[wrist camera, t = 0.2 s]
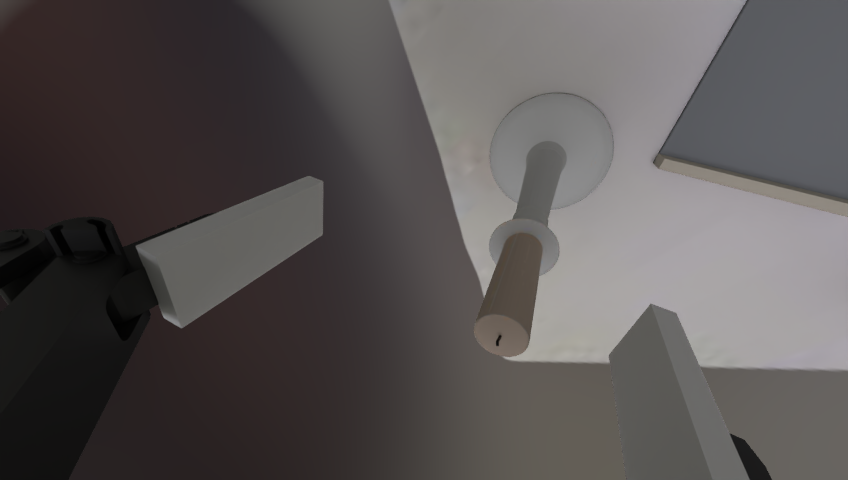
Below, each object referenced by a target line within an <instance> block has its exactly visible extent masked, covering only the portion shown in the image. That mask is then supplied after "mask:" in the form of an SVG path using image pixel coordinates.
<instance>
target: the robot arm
mask: <svg viewBox="0 0 848 480" xmlns="http://www.w3.org/2000/svg"><path fill="white" fill-rule="evenodd" d="M43 232H44V233H43ZM43 232H42V231H39V230H35V229H13V230H5V231H2V232H0V294H1V296H2V297H3V298H4V300H5V301H6V302H7V304H8V306H7V307H6V308H5V309H4V310H2V311H0V480H69V477H70V476H71V474H72V472H73V470H74V468H75V466H76V463H77V462H78V460H79V457H80V456H81V454H82V452H83V450H84V448H85V446H86V444H87V442H88V440H89V438H90V436H91V434H92V432H93V430H94V428H95V426H96V424H97V422H98V420H99V419H100V416H101V415H102V413H103V411H104V409H105V407H106V405H107V403H108V401H109V399H110V397H111V395H112V393H113V391H114V389H115V387H116V385H117V383H118V381H119V379H120V377H121V375H122V373H123V371H124V369H125V367H126V365H127V363H128V361H129V359H130V357H131V355H132V354H133V352H134V350H135V347H136V346H137V344H138V342H139V340H140V338H141V336H142V334H143V332H144V330H145V328H146V326H147V324H148V322H149V320H150V315H151V313H150V311H149V309H151V308H152V307H154V306H156V305H159V307H160V310H161V312H162V314H163V317H164V318H165V319H167V320H168V321H170V322H172V323H173V324H175V325H177V326H178V327H180V328H183V327H184V326H186V325H187V324H189V323H190V322H192V321H193V320H195V319H196V318H198V317H199V316H201V315H202V314H204V313H205V312H207V311H208V310H210V309H211V308H213V307H214V306H216V305H217V304H219V303H220V302H222V301H223V300H225V299H227V298H228V297H230V296H231V295H232V294H234V293H235V292H237V291H239V290H240V289H242V288H243V287H245V286H246V285H247V284H249V283H251V282H252V281H254V280H255V279H257V278H258V277H260V276H261V275H263V274H264V273H265V272H267V271H269V270H270V269H272V268H273V267H275V266H276V265H278V264H279V263H281V262H282V261H284V260H285V259H287V258H288V257H290V256H291V255H293V254H294V253H295V252H297V251H299V250H300V249H302V248H303V247H305V246H306V245H308V244H309V243H311V242H312V241H314V240H315V239H317V238H318V237H320V236H321V235H323V181H321V180H318V179H315V178H312V177H310V176H307V177H305V178H302V179H300V180H297V181H295V182H292V183H290V184H287V185H285V186H282V187H280V188H277V189H275V190H272V191H270V192H267V193H265V194H263V195H260V196H258V197H255V198H253V199H250V200H248V201H245V202H243V203H240V204H238V205H236V206H233V207H230V208H228V209H225V210H223V211H220V212H217V213H211V214H206V215H203V216H200V217H198V218H196V219H193V220H190V222H189V223H188V222H185V223H183V224H180V225H178V226H177V227H176V228H175V227H173V228H170V229H168V230H165V231H163V232H160V233H158V234H155V235H152V236H150V237H148V238H145V239H142V240H140V241H138V242H135V243H132V244H130V245H127V246H124V247H122V245H121V242H120V240H119V238H118V235H117V233H116V231H115V228H114V226H113V224H112V223H111V221H110V220H107V219H104V218H99V217H81V218H74V219H69V220H64V221H61V222H58V223H55V224H52V225H51V226H49V227H47V228H45V229H44V230H43ZM609 360H610V366H611V374H612V381H613V388H614V395H615V402H616V410H617V416H618V424H619V430H620V438H621V445H622V453H623V459H624V466H625V474H626V480H772V479H771V477H770V475H769V473H768V471H767V469H766V467H765V465H764V464H763V463H762V462H761V461H760V459H759V458H758V457H757V455H756V454H755V453H754V451H753V450H752V449H751V448H750V446H749V445H748V444H747V443H746V441H745V440H743V439H741V438H739V437H736V436H734V435H732V434H730V433H729V432H728V429H727V427H726V425H725V423H724V421H723V418H722V416H721V414H720V411H719V409H718V407H717V405H716V402H715V400H714V398H713V396H712V393H711V391H710V389H709V386H708V384H707V382H706V380H705V378H704V375H703V373H702V371H701V368H700V366H699V364H698V361H697V359H696V357H695V355H694V352H693V350H692V348H691V346H690V343H689V341H688V339H687V337H686V334H685V332H684V330H683V327H682V325H681V323H680V321H679V318H678V316H677V314H676V313H675V312H672V311H669V310H666V309H664V308H661V307H658V306H656V305H653V304H650V305H649V307H648V308H647V309H646V310H645V312H644V313H643V314H642V315H641V316H640V318H639V319H638V320H637V321H636V323H635V324H634V325H633V326H632V327H631V329H630V330H629V331H628V332H627V334H626V335H625V336H624V337H623V339H622V340H621V341H620V342H619V343H618V345H617V346H616V347H615V348H614V350H613V351H612V352H611V353H610V354H609Z"/></svg>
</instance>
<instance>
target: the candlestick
mask: <svg viewBox="0 0 848 480" xmlns="http://www.w3.org/2000/svg"><path fill="white" fill-rule="evenodd" d="M612 156H613V136H612V132H611V129H610V126H609V124H608V122H607V120H606V118H605V117H604V115H603V114H602V113H601V112H600V111H599V110H598V109H597V108H596V107H595V106H594V105H593V104H591V103H590V102H588V101H587V100H585V99H583V98H580V97H578V96H575V95H571V94H565V93H551V94H544V95H540V96H537V97H534V98H531V99H529V100H527V101H525V102H523V103H522V104H520V105H519V106H517V107H516V108H515V109H513V110H512V111H511V112H510V113H509V114H508V115H507V116H506V117H505V118H504V119H503V121H502V122H501V123H500V125H499V127H498V128H497V130H496V132H495V134H494V137H493V140H492V143H491V148H490V166H491V170H492V174H493V177H494V179H495V181H496V183H497V185H498V186H499V188H500V189H501V190H502V191H503V192H504V193H505V194H506V195H507V196H508V197H509V198H510V199H512V200H513V201H515V202H516V203H518V205H517V210H516V213H515V214H514V216H513V219H512V220H509V221H507V222H504V223H503V224H501V225H500V226H499V227H497V228H496V229H495V231H494V232H493V234H492V236H491V238H490V242H489V251H490V254H491V257H492V259H493V261H494V262H495V263H496V268H495V271H494V273H493V276H492V279H491V282H490V284H489V287H488V290H487V292H486V295H485V298H484V300H483V303H482V306H481V308H480V311H479V314H478V317H477V319H476V322H475V325H474V335H475V337H476V339H477V341H478V342H479V344H480V345H481V346H482V347H484V348H485V349H486V350H487V351H489V352H491V353H493V354H496V355H498V356H505V357H512V356H517V355H519V354H522V353H523V352H524V351H525V350H526V349H527V347H528V345H529V341H530V334H531V327H532V320H533V313H534V306H535V300H536V293H537V286H538V279H539V276H541V275H543V274H545V273H547V272H548V271H550V270H551V269H552V268H553V267H554V265H555V264H556V262H557V260H558V257H559V252H560V251H559V243H558V240H557V238H556V236H555V235H554V233H553V232H552V231H551V230H550V229H549V228H548V227H547V226H548V217H549V213H550V210H554V209H560V208H564V207H567V206H570V205H572V204H575V203H577V202H579V201H580V200H582V199H584V198H585V197H586V196H588V195H589V194H590V193H591V192H593V191H594V190H595V189H596V188H597V187H598V185H599V184H600V183H601V182H602V180H603V179H604V177H605V175H606V174H607V172H608V169H609V167H610V164H611V161H612Z"/></svg>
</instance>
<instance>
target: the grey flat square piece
mask: <svg viewBox="0 0 848 480" xmlns="http://www.w3.org/2000/svg"><path fill="white" fill-rule="evenodd" d="M653 163H654V164H655V165H656V166H657V167H658V169H662V170H666V171H670V172H673V173H677V174H681V175H685V176H689V177H693V178H697V179H701V180H705V181H709V182H713V183H717V184H720V185H724V186H728V187H732V188H736V189H740V190H744V191H748V192H752V193H756V194H760V195H764V196H768V197H771V198H775V199H779V200H783V201H787V202H791V203H795V204H799V205H803V206H807V207H811V208H815V209H818V210H822V211H826V212H830V213H834V214H838V215H842V216H846V217H848V0H747V2H746V4H745V5H744V7H743V9H742V10H741V12H740V14H739V16H738V17H737V19H736V21H735V23H734V24H733V26H732V28H731V29H730V31H729V33H728V35H727V36H726V38H725V40H724V41H723V43H722V45H721V47H720V48H719V50H718V52H717V54H716V55H715V57H714V59H713V60H712V62H711V64H710V66H709V67H708V69H707V71H706V72H705V74H704V76H703V78H702V79H701V81H700V83H699V85H698V86H697V88H696V90H695V91H694V93H693V95H692V97H691V98H690V100H689V102H688V104H687V105H686V107H685V109H684V110H683V112H682V114H681V116H680V117H679V119H678V121H677V122H676V124H675V126H674V128H673V129H672V131H671V133H670V135H669V136H668V138H667V140H666V141H665V143H664V145H663V147H662V148H661V150H660V152H659V153H658V155H657V157H656V159H655V160H654V162H653Z"/></svg>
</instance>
